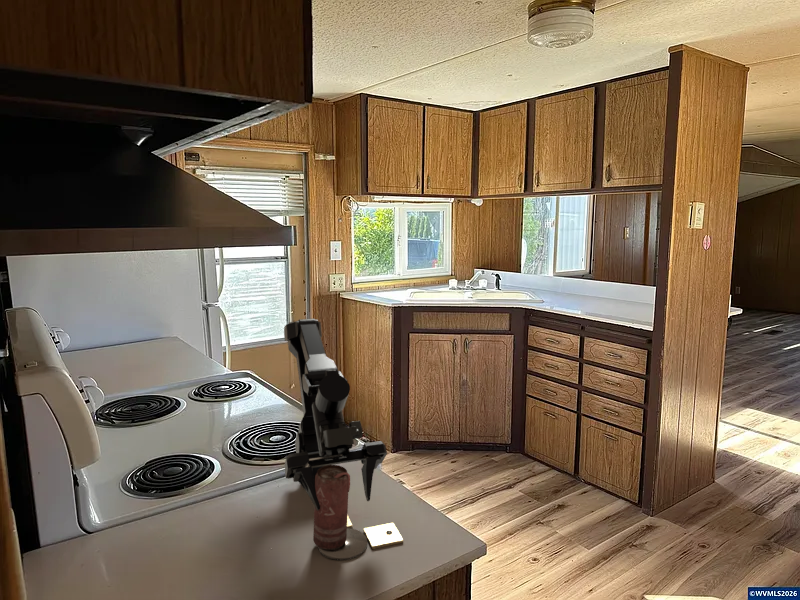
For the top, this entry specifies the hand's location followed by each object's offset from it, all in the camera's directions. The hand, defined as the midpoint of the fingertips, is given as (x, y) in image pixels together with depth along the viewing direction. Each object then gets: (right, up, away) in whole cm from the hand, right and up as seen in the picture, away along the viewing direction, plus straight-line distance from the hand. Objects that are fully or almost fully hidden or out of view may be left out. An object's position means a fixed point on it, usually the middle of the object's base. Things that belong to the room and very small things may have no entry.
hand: (343, 505), depth 99 cm
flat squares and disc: (+1, -8, +7) cm, 10 cm away
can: (-3, -8, +3) cm, 9 cm away
